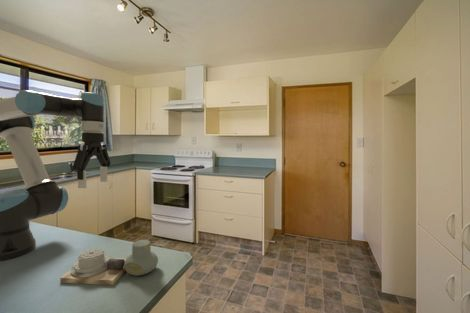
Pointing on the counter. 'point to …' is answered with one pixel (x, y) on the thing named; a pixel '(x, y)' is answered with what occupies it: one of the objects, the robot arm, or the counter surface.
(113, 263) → the flange board
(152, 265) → the grey rounded piece
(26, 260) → the counter surface
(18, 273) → the counter surface
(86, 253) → the mechanical component
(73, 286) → the counter surface
